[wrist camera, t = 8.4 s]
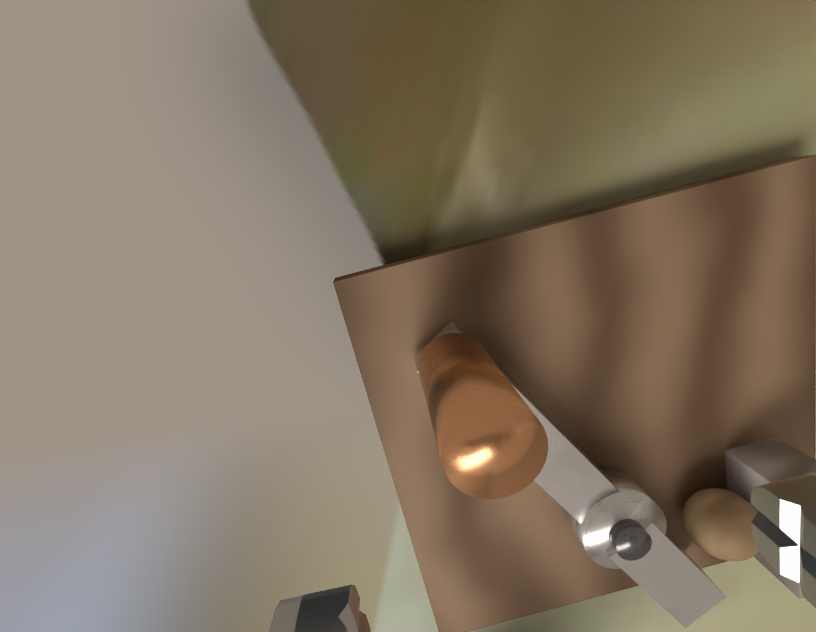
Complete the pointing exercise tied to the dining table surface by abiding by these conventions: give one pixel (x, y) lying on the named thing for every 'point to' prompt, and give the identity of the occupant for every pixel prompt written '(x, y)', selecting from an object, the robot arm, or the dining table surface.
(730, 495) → the tan wooden ball
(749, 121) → the dining table surface
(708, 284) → the walnut board
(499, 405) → the lever
